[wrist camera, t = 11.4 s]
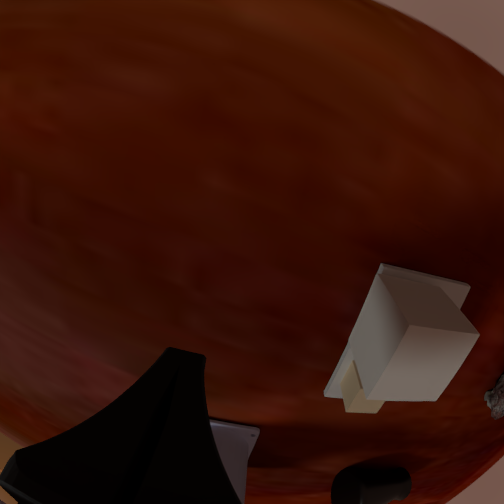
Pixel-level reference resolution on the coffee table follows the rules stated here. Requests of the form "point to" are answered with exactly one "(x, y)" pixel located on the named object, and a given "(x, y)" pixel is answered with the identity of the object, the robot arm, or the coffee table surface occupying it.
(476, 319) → the coffee table surface
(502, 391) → the mineral rock
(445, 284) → the grey board
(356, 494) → the coffee pot
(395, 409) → the coffee table surface
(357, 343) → the beige block
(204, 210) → the coffee table surface
